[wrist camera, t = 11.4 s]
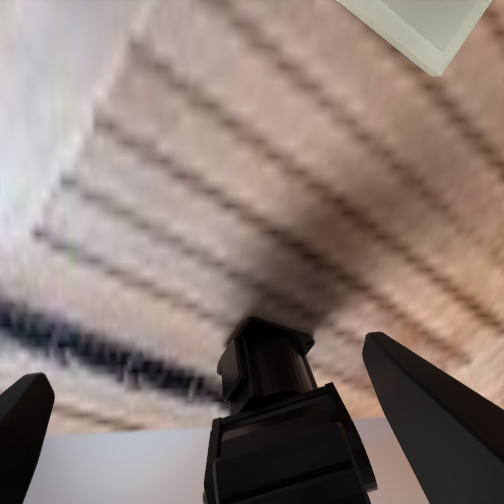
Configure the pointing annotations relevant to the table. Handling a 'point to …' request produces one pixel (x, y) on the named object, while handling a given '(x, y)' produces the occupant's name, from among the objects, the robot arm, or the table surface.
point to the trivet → (421, 26)
